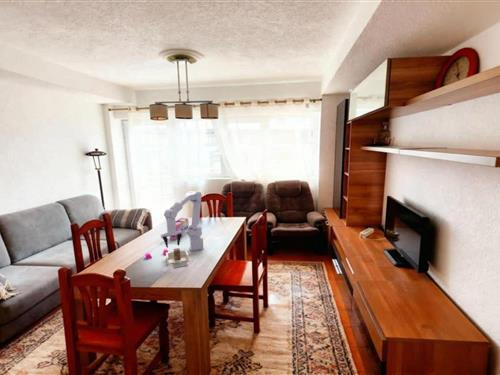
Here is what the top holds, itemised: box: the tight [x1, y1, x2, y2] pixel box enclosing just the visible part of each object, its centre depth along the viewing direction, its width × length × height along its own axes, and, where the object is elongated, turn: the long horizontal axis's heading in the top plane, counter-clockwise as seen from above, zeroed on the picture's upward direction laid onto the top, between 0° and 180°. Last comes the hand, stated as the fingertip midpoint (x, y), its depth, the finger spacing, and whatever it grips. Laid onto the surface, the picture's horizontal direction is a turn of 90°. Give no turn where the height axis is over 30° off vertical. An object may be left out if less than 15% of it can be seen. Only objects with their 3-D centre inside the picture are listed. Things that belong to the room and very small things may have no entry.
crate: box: [165, 249, 189, 265], centre depth 187 cm, size 14×10×4 cm
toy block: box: [144, 248, 169, 260], centre depth 194 cm, size 15×6×8 cm, turn 122°
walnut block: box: [173, 247, 181, 261], centre depth 186 cm, size 4×4×7 cm
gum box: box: [169, 217, 190, 241], centre depth 236 cm, size 22×7×13 cm, turn 165°
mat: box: [172, 261, 189, 269], centre depth 178 cm, size 9×7×1 cm
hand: (172, 245), depth 185 cm, fingers open, 7 cm apart
